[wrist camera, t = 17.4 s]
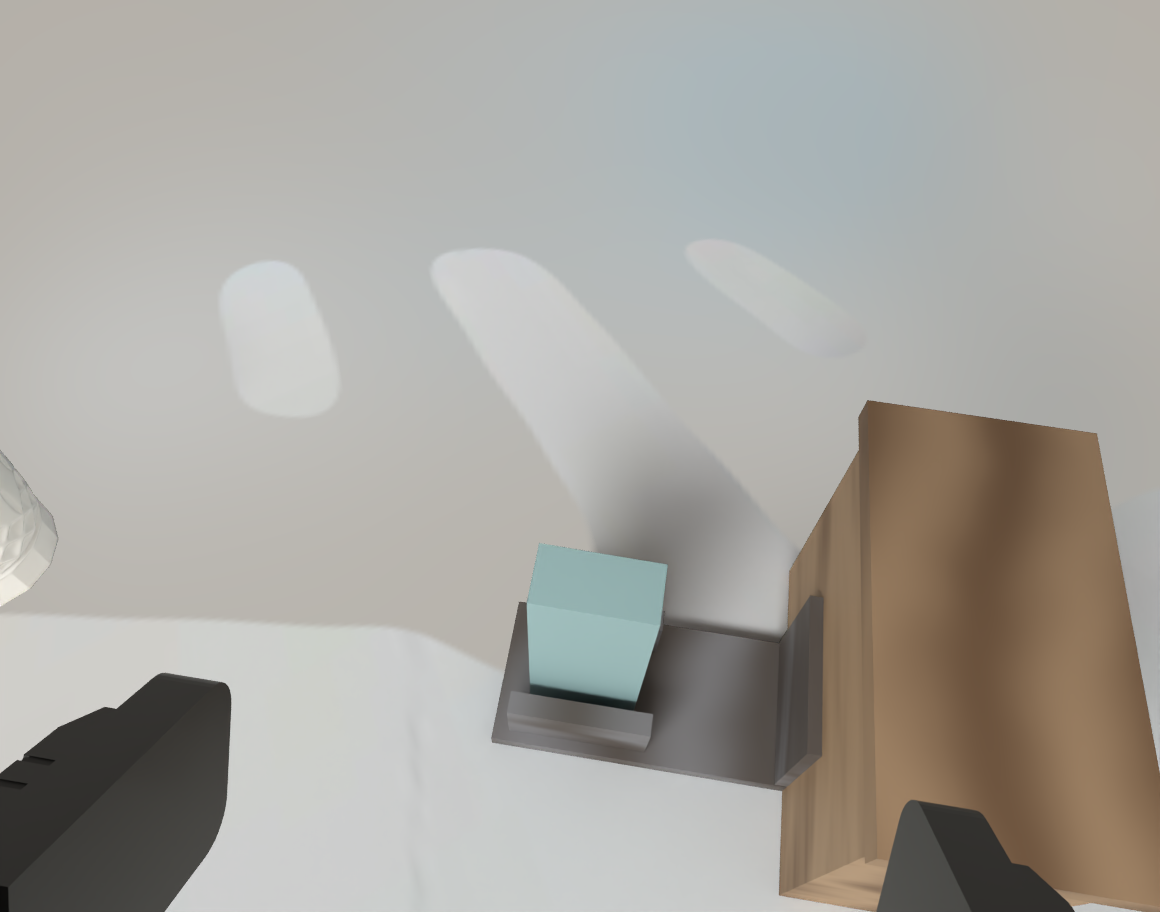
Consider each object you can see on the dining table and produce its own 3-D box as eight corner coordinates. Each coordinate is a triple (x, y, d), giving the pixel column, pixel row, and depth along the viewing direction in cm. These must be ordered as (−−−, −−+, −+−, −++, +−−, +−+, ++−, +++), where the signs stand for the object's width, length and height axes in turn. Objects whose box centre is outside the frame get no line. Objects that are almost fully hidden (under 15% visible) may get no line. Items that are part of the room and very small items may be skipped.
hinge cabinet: (946, 587, 48) (1096, 433, 35) (971, 941, 39) (1185, 911, 26) (536, 523, 49) (534, 352, 36) (469, 853, 40) (434, 783, 27)
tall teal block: (641, 648, 45) (670, 543, 34) (632, 715, 43) (660, 625, 33) (543, 631, 45) (543, 522, 35) (530, 697, 43) (526, 603, 33)
